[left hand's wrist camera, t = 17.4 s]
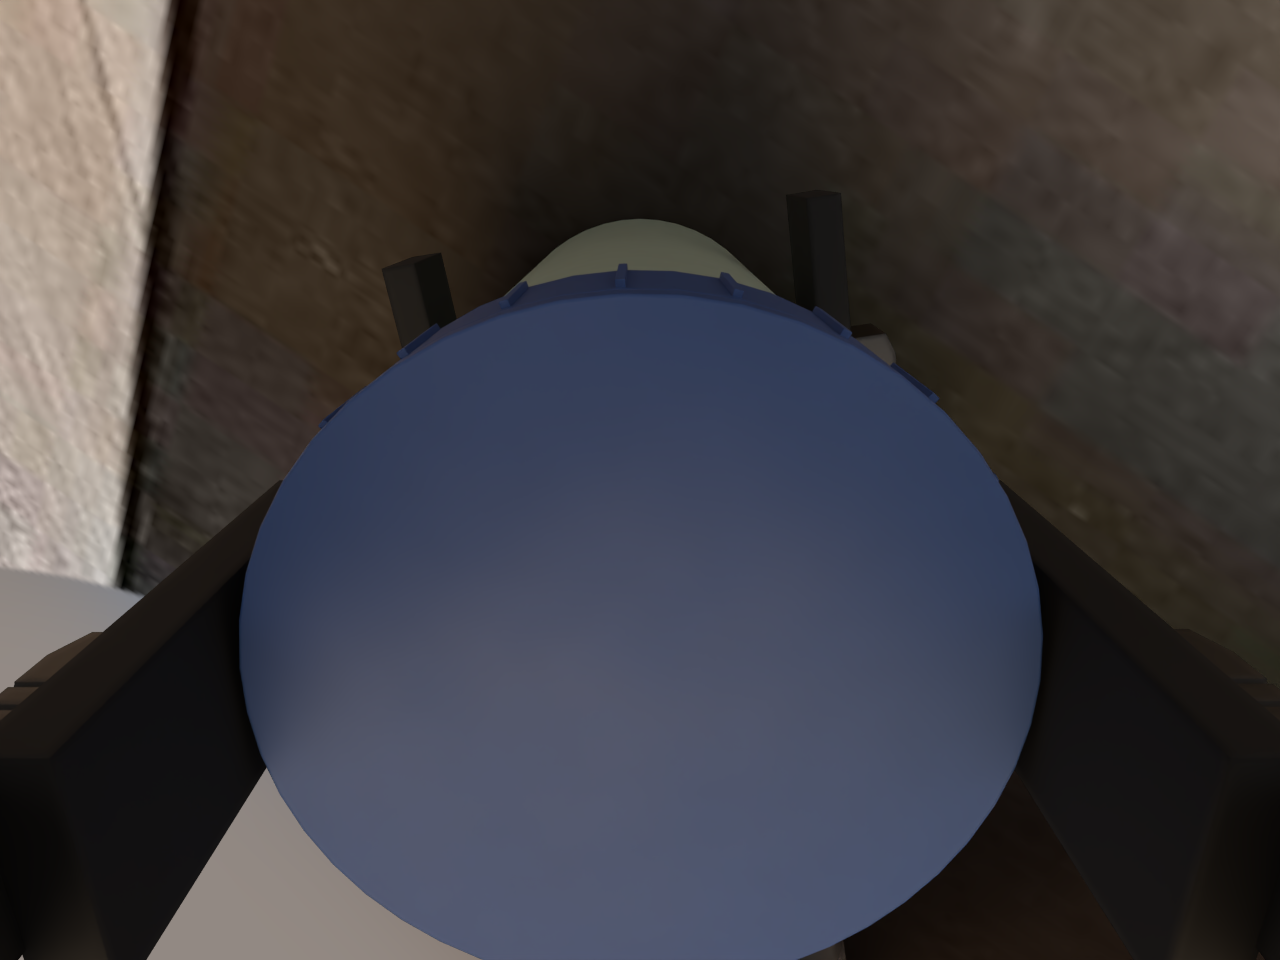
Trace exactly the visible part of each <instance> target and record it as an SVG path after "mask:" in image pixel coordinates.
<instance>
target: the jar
mask: <svg viewBox="0 0 1280 960" xmlns="http://www.w3.org/2000/svg"><path fill="white" fill-rule="evenodd" d="M624 263H627V267H628V270H653V271H677V272H684V273H690V274H697V275H703V276H709V277H716V278H720V274H721V272H725V273H729V274H730V275H731V276H732V278H733V279H734V280H735V281H736V282H737V283H739V284H743V285H746V286H749V287H753V288H756V289H760V290H763V291H766V292H770V293H772V294H774V293H773V292H772V291H771V290H770V289H769V288H768V287H766V286H765V285H764V284H763V283H762V282H761V281H760V280H759V279H758V278H757V277H756V276H754V275H753V274H752V273H751V272H750V271H749V270H748V269H747V268H746V267H745V266H744V265H742V264H741V263H740V262H739V261H738V260H737V259H736V258H735V257H734V256H733V255H732V254H731V253H729V252H728V251H727V250H726V249H725V248H723V247H722V246H721V245H719V244H718V243H716V242H715V241H713V240H712V239H711V238H709V237H707V236H705V235H703V234H701V233H699V232H697V231H695V230H693V229H690V228H687V227H684V226H681V225H679V224H675V223H670V222H665V221H661V220H649V219H631V220H620V221H615V222H610V223H606V224H602V225H599V226H596V227H594V228H591V229H588V230H585V231H583V232H582V233H580V234H578V235H576V236H574V237H572V238H570V239H568V240H567V241H566V242H564V243H563V244H561V245H560V246H559V247H557V248H556V249H554V250H553V251H552V252H551V253H550V254H549V255H548V256H547V257H546V258H545V259H544V260H542V261H541V262H540V263H539V264H538V265H537V266H536V267H535V268H534V269H533V270H532V271H531V272H530V273H528V274H527V275H526V276H525V277H524V278H523V279H522V280H521V281H520V282H519V283H521V282H524V281H527V284H528V287H530V286H534V285H538V284H542V283H546V282H550V281H554V280H558V279H562V278H566V277H570V276H574V275H583V274H591V273H600V272H609V271H617V269H618V265H619V264H624ZM515 286H516V285H515ZM515 286H514V287H515ZM514 287H513V288H514ZM513 288H512V289H513ZM512 289H511V290H512ZM511 290H510V291H511ZM510 291H509V292H510ZM509 292H508V293H509ZM508 293H507V294H508ZM507 294H506V295H507ZM506 295H505V296H506ZM774 295H775V294H774Z"/></svg>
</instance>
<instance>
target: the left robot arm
mask: <svg viewBox="0 0 1280 960" xmlns="http://www.w3.org/2000/svg"><path fill="white" fill-rule="evenodd" d="M282 481H283V480H279V481H278V482H277V483H276V484H275V485H274V486H272V487H271V488H270V489H269V490H268V491H267V492H265V493H264V494H263V495H262V496H261V497H260V498H258V499H257V500H256V501H255V502H254V503H253V504H251V505H250V506H249V507H248V508H247V509H246V510H244V511H243V512H242V513H241V514H240V515H239V516H237V517H236V518H235V519H234V520H233V521H232V522H230V523H229V524H228V525H227V526H226V527H225V528H224V529H222V530H221V531H220V532H219V533H218V534H217V535H215V536H214V537H213V538H212V539H211V540H210V541H208V542H207V543H206V544H205V545H204V546H203V547H201V548H200V549H199V550H198V551H197V552H196V553H194V554H193V555H192V556H191V557H190V558H189V559H187V560H186V561H185V562H184V563H183V564H182V565H180V566H179V567H178V568H177V569H176V570H175V571H173V572H172V573H171V574H170V575H169V576H168V577H167V578H165V579H164V580H163V581H162V582H161V583H160V584H158V585H157V586H156V587H155V588H154V589H153V590H151V591H150V592H149V593H148V594H147V595H146V596H144V597H143V598H142V599H141V600H140V601H139V602H137V603H136V604H135V605H134V606H133V607H132V608H131V609H129V610H128V611H127V612H126V613H125V614H124V615H122V616H121V617H120V618H119V619H118V620H116V621H115V622H114V623H113V624H112V625H111V626H110V627H108V628H107V629H106V630H105V631H104V632H92V633H90V634H88V635H86V636H84V637H82V638H80V639H78V640H76V641H74V642H72V643H70V644H68V645H66V646H64V647H62V648H60V649H58V650H56V651H54V652H52V653H50V654H48V655H47V656H45V657H44V658H43V659H42V660H41V661H39V662H38V663H37V664H36V665H34V666H33V667H32V668H31V669H30V670H28V671H27V672H26V673H25V674H24V675H22V676H21V677H20V678H19V679H17V680H16V681H15V685H14V687H8V688H6V689H5V690H4V691H3V692H1V693H0V960H18V959H19V958H20V957H21V955H23V958H24V960H146V959H147V958H148V956H149V955H150V953H151V951H152V950H153V948H154V947H155V945H156V943H157V942H158V940H159V939H160V937H161V935H162V934H163V932H164V931H165V929H166V927H167V926H168V924H169V923H170V921H171V919H172V918H173V916H174V915H175V913H176V911H177V910H178V908H179V907H180V905H181V903H182V902H183V900H184V899H185V897H186V895H187V894H188V892H189V891H190V889H191V887H192V886H193V884H194V883H195V881H196V879H197V878H198V876H199V875H200V873H201V871H202V870H203V868H204V867H205V865H206V863H207V862H208V860H209V859H210V857H211V855H212V854H213V852H214V851H215V849H216V847H217V846H218V844H219V843H220V841H221V839H222V838H223V836H224V835H225V833H226V831H227V830H228V828H229V827H230V825H231V823H232V822H233V820H234V819H235V817H236V816H237V814H238V812H239V811H240V809H241V807H242V806H243V804H244V803H245V801H246V799H247V798H248V796H249V795H250V793H251V792H252V790H253V788H254V787H255V785H256V784H257V782H258V780H259V779H260V777H261V776H262V774H263V772H264V771H265V769H266V768H267V767H266V765H265V763H264V761H263V759H262V756H261V754H260V751H259V748H258V745H257V742H256V739H255V736H254V733H253V729H252V726H251V723H250V720H249V717H248V714H247V710H246V704H245V698H244V692H243V686H242V680H241V673H240V666H239V617H240V610H241V603H242V596H243V589H244V582H245V575H246V571H247V568H248V564H249V561H250V558H251V555H252V551H253V548H254V545H255V542H256V538H257V535H258V532H259V529H260V526H261V524H262V522H263V520H264V518H265V516H266V514H267V512H268V510H269V508H270V506H271V504H272V502H273V500H274V497H275V495H276V493H277V491H278V489H279V487H280V485H281V483H282ZM999 484H1000V485H1001V487H1002V488H1003V490H1004V491H1005V493H1006V495H1007V496H1008V499H1009V501H1010V503H1011V506H1012V508H1013V510H1014V513H1015V515H1016V517H1017V520H1018V522H1019V524H1020V527H1021V529H1022V531H1023V534H1024V536H1025V538H1026V541H1027V544H1028V548H1029V552H1030V556H1031V560H1032V564H1033V567H1034V571H1035V575H1036V579H1037V583H1038V587H1039V596H1040V607H1041V617H1042V628H1043V647H1042V663H1041V680H1040V686H1039V690H1038V695H1037V700H1036V704H1035V709H1034V714H1033V718H1032V723H1031V727H1030V729H1029V732H1028V735H1027V737H1026V740H1025V743H1024V746H1023V748H1022V751H1021V754H1020V756H1019V759H1018V762H1017V764H1016V767H1015V771H1016V772H1017V774H1018V776H1019V777H1020V779H1021V780H1022V782H1023V784H1024V785H1025V787H1026V788H1027V790H1028V792H1029V793H1030V795H1031V796H1032V798H1033V800H1034V801H1035V803H1036V804H1037V806H1038V808H1039V809H1040V811H1041V812H1042V814H1043V816H1044V817H1045V819H1046V820H1047V822H1048V824H1049V825H1050V827H1051V828H1052V830H1053V832H1054V833H1055V835H1056V836H1057V838H1058V840H1059V841H1060V843H1061V844H1062V846H1063V848H1064V849H1065V851H1066V852H1067V854H1068V856H1069V857H1070V859H1071V860H1072V862H1073V864H1074V865H1075V867H1076V868H1077V870H1078V871H1079V873H1080V875H1081V876H1082V878H1083V879H1084V881H1085V883H1086V884H1087V886H1088V887H1089V889H1090V891H1091V892H1092V894H1093V895H1094V897H1095V899H1096V900H1097V902H1098V903H1099V905H1100V907H1101V908H1102V910H1103V911H1104V913H1105V915H1106V916H1107V918H1108V919H1109V921H1110V923H1111V924H1112V926H1113V927H1114V929H1115V931H1116V932H1117V934H1118V935H1119V937H1120V939H1121V940H1122V942H1123V943H1124V945H1125V947H1126V948H1127V950H1128V951H1129V953H1130V955H1131V956H1132V958H1133V959H1134V960H1256V958H1257V955H1258V952H1260V953H1261V955H1262V956H1263V957H1264V958H1265V960H1280V689H1279V688H1277V687H1276V686H1275V685H1274V684H1267V682H1266V678H1265V677H1264V676H1263V675H1261V674H1260V673H1259V672H1258V671H1256V670H1255V669H1254V668H1253V667H1252V666H1250V665H1249V664H1248V663H1247V662H1245V661H1244V660H1243V659H1242V658H1240V657H1239V656H1238V655H1237V654H1235V653H1234V652H1233V651H1231V650H1229V649H1227V648H1225V647H1223V646H1221V645H1219V644H1217V643H1215V642H1213V641H1211V640H1209V639H1207V638H1205V637H1203V636H1201V635H1199V634H1197V633H1195V632H1193V631H1191V630H1189V629H1173V628H1172V627H1170V626H1169V625H1168V624H1167V623H1166V622H1165V621H1163V620H1162V619H1161V618H1160V617H1159V616H1158V615H1157V614H1155V613H1154V612H1153V611H1152V610H1151V609H1150V608H1148V607H1147V606H1146V605H1145V604H1144V603H1143V602H1141V601H1140V600H1139V599H1138V598H1137V597H1136V596H1134V595H1133V594H1132V593H1131V592H1130V591H1129V590H1127V589H1126V588H1125V587H1124V586H1123V585H1122V584H1120V583H1119V582H1118V581H1117V580H1116V579H1115V578H1113V577H1112V576H1111V575H1110V574H1109V573H1108V572H1106V571H1105V570H1104V569H1103V568H1102V567H1101V566H1100V565H1098V564H1097V563H1096V562H1095V561H1094V560H1093V559H1091V558H1090V557H1089V556H1088V555H1087V554H1086V553H1084V552H1083V551H1082V550H1081V549H1080V548H1079V547H1077V546H1076V545H1075V544H1074V543H1073V542H1072V541H1070V540H1069V539H1068V538H1067V537H1066V536H1065V535H1063V534H1062V533H1061V532H1060V531H1059V530H1058V529H1056V528H1055V527H1054V526H1053V525H1052V524H1051V523H1049V522H1048V521H1047V520H1046V519H1045V518H1044V517H1043V516H1041V515H1040V514H1039V513H1038V512H1037V511H1036V510H1034V509H1033V508H1032V507H1031V506H1030V505H1029V504H1027V503H1026V502H1025V501H1024V500H1023V499H1022V498H1020V497H1019V496H1018V495H1017V494H1016V493H1015V492H1013V491H1012V490H1011V489H1010V488H1009V487H1008V486H1006V485H1005V484H1004V483H1003V482H1002V481H1001V480H999Z"/></svg>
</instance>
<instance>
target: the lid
mask: <svg viewBox="0 0 1280 960" xmlns="http://www.w3.org/2000/svg"><path fill="white" fill-rule="evenodd" d="M851 334H852V332H851V331H850V330H849V329H847V328H846V327H845V326H843V325H842V324H841V323H839V322H838V321H837V320H835V319H834V318H833V317H832V316H830V315H829V314H828V313H826V312H825V311H824V310H822V309H820V308H819V307H817V306H815V308H814V310H813V311H809V310H807V309H805V308H803V307H801V306H799V305H796V304H794V303H792V302H790V301H788V300H785V299H783V298H781V297H779V296H777V295H774V294H772V293H770V292H766V291H763V290H760V289H756V288H753V287H749V286H746V285H743V284H739V283H737V282H736V281H735V280H734V279H733V278H732V276H731V275H730V274H729V273H725V272H721V274H720V278H716V277H709V276H703V275H697V274H690V273H684V272H677V271H653V270H628V267H627V263H624V264H619V265H618V269H617V271H609V272H600V273H591V274H583V275H574V276H570V277H566V278H562V279H558V280H554V281H550V282H546V283H542V284H538V285H534V286H530V287H528V284H527V281H524V282H521V283H518V284H517V285H516V286H515V287H514V288H513V289H512V290H511V291H510V292H509V293H508V294H507V295H506V296H504V297H501V298H499V299H496V300H494V301H491V302H489V303H486V304H484V305H481V306H479V307H477V308H476V309H474V310H472V311H470V312H469V313H467V314H465V315H464V316H462V317H460V318H458V319H457V320H455V321H453V322H451V323H450V324H448V325H446V326H444V327H443V328H441V329H440V327H439V326H438V324H435V325H433V326H432V327H430V328H429V329H428V330H426V331H425V332H424V333H422V334H421V335H420V336H418V337H417V338H416V339H414V340H413V341H412V342H410V343H409V344H408V345H406V346H405V347H404V348H402V349H401V350H400V351H398V352H397V355H398V356H399V357H400V359H401V360H399V361H398V362H397V363H396V364H394V365H393V366H392V367H391V368H389V369H388V370H387V371H385V372H384V373H383V374H382V375H380V376H379V377H378V378H377V379H375V380H374V381H373V382H372V383H370V384H369V385H368V386H365V387H364V388H363V389H361V390H360V391H359V392H358V393H356V394H355V395H354V396H352V397H351V398H350V399H349V400H347V401H346V402H345V403H344V404H342V405H341V406H340V407H339V408H337V409H336V410H335V411H333V412H332V413H331V414H330V415H328V416H327V417H326V418H325V419H323V420H322V422H321V423H320V424H319V425H318V426H319V427H320V428H321V430H320V431H319V432H318V433H317V435H316V436H315V437H314V438H313V439H312V440H311V441H310V443H309V444H308V446H307V447H306V448H305V450H304V451H303V453H302V454H301V456H300V457H299V459H298V460H297V461H296V463H295V464H294V466H293V467H292V469H291V470H290V471H289V473H288V474H287V476H286V477H285V479H284V480H283V481H282V483H281V485H280V487H279V489H278V491H277V493H276V495H275V497H274V500H273V502H272V504H271V506H270V508H269V510H268V512H267V514H266V516H265V518H264V520H263V522H262V524H261V526H260V529H259V532H258V535H257V538H256V542H255V545H254V548H253V551H252V555H251V558H250V561H249V564H248V568H247V571H246V575H245V582H244V589H243V596H242V603H241V610H240V617H239V666H240V673H241V680H242V686H243V692H244V698H245V704H246V710H247V714H248V717H249V720H250V723H251V726H252V729H253V733H254V736H255V739H256V742H257V745H258V748H259V751H260V754H261V756H262V759H263V761H264V763H265V765H266V767H267V769H268V771H269V773H270V775H271V777H272V779H273V781H274V783H275V785H276V787H277V789H278V791H279V793H280V795H281V797H282V798H283V800H284V801H285V803H286V804H287V806H288V807H289V809H290V810H291V812H292V813H293V815H294V816H295V818H296V819H297V821H298V822H299V824H300V825H301V827H302V828H303V830H304V831H305V832H306V834H307V835H308V836H309V837H310V838H311V839H312V841H313V842H314V843H315V844H316V845H317V846H318V847H319V849H320V850H321V851H322V852H323V853H324V854H325V856H326V857H327V858H328V859H329V860H330V861H331V863H332V864H333V865H334V866H335V867H337V868H338V869H339V870H340V871H341V872H342V873H343V874H344V875H345V876H346V877H348V878H349V879H350V880H351V881H352V882H353V883H354V884H355V885H356V886H358V887H359V888H360V889H361V890H362V891H363V892H364V893H365V894H366V895H368V896H369V897H371V898H372V899H373V900H375V901H376V902H378V903H379V904H380V905H382V906H383V907H385V908H386V909H387V910H389V911H390V912H392V913H393V914H394V915H396V916H397V917H399V918H400V919H401V920H403V921H405V922H407V923H408V924H410V925H412V926H414V927H415V928H417V929H419V930H421V931H423V932H424V933H426V934H428V935H430V936H431V937H433V938H435V939H437V940H439V941H440V942H443V943H445V944H447V945H450V946H452V947H454V948H457V949H459V950H461V951H463V952H466V953H468V954H470V955H473V956H475V957H477V958H480V959H482V960H798V959H800V958H803V957H805V956H808V955H811V954H813V953H816V952H818V951H821V950H823V949H826V948H828V947H830V946H832V945H834V944H836V943H838V942H840V941H842V940H844V939H846V938H848V937H850V936H851V935H853V934H855V933H857V932H859V931H861V930H863V929H865V928H867V927H869V926H870V925H872V924H873V923H875V922H876V921H878V920H879V919H881V918H882V917H884V916H885V915H887V914H888V913H890V912H891V911H893V910H894V909H896V908H897V907H899V906H900V905H902V904H903V903H905V902H906V901H907V900H908V899H909V898H911V897H912V896H913V895H914V894H915V893H917V892H918V891H919V890H920V889H921V888H922V887H924V886H925V885H926V884H927V883H928V882H930V881H931V880H932V879H933V878H934V877H935V876H937V875H938V874H939V873H940V872H941V871H942V870H943V869H944V868H945V866H946V865H947V864H948V863H949V862H950V861H951V860H952V859H953V858H954V857H955V856H956V855H957V854H958V853H959V851H960V850H961V849H962V848H963V847H964V846H965V845H966V844H967V843H968V842H969V841H970V839H971V838H972V836H973V835H974V834H975V832H976V831H977V829H978V828H979V827H980V825H981V824H982V823H983V821H984V820H985V818H986V817H987V816H988V814H989V813H990V812H991V810H992V809H993V807H994V806H995V804H996V802H997V800H998V799H999V797H1000V795H1001V793H1002V791H1003V789H1004V787H1005V786H1006V784H1007V782H1008V780H1009V778H1010V776H1011V774H1012V773H1013V771H1014V769H1015V767H1016V764H1017V762H1018V759H1019V756H1020V754H1021V751H1022V748H1023V746H1024V743H1025V740H1026V737H1027V735H1028V732H1029V729H1030V727H1031V723H1032V718H1033V714H1034V709H1035V704H1036V700H1037V695H1038V690H1039V686H1040V680H1041V663H1042V647H1043V628H1042V617H1041V607H1040V596H1039V587H1038V583H1037V579H1036V575H1035V571H1034V567H1033V564H1032V560H1031V556H1030V552H1029V548H1028V544H1027V541H1026V538H1025V536H1024V534H1023V531H1022V529H1021V527H1020V524H1019V522H1018V520H1017V517H1016V515H1015V513H1014V510H1013V508H1012V506H1011V503H1010V501H1009V499H1008V496H1007V495H1006V493H1005V491H1004V490H1003V488H1002V487H1001V485H1000V484H999V480H998V478H997V476H996V475H995V474H994V473H993V472H992V471H991V469H990V468H989V466H988V464H987V463H986V461H985V460H984V458H983V456H982V455H981V453H980V452H979V451H978V450H977V448H976V447H975V446H974V445H973V444H972V443H971V441H970V440H969V439H968V438H967V437H966V436H965V435H964V433H963V432H962V431H961V430H960V429H959V428H958V426H957V425H956V424H955V423H954V422H953V421H952V420H951V418H950V417H949V416H948V415H947V414H946V413H945V412H944V411H943V410H942V409H941V408H940V407H939V406H937V405H936V404H935V403H936V402H937V401H938V400H939V398H938V397H937V396H936V395H935V394H934V393H933V392H932V391H931V390H929V389H928V388H927V387H925V386H924V385H923V384H921V383H920V382H919V381H918V380H916V379H915V378H914V377H912V376H911V375H910V374H908V373H907V372H906V371H904V370H903V369H902V368H900V367H899V366H898V365H896V364H895V363H892V364H891V365H888V364H887V363H886V362H885V361H883V360H882V359H881V358H879V357H878V356H877V355H876V354H874V353H873V352H872V351H870V350H869V349H868V348H867V347H865V346H864V345H863V344H862V343H860V342H859V341H858V340H856V339H855V338H854V337H852V336H851Z"/></svg>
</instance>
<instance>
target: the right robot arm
mask: <svg viewBox="0 0 1280 960" xmlns="http://www.w3.org/2000/svg"><path fill="white" fill-rule="evenodd" d="M786 199H787V209H788V220H789V231H790V241H791V252H792V263H793V273H794V284H795V295H796V305H799V306H801V307H803V308H805V309H807V310H809V311H813V310H814V308H815V306H817V307H819V308H820V309H822V310H824V311H825V312H826V313H828V314H829V315H830V316H832V317H833V318H834V319H835V320H837V321H838V322H839V323H841V324H842V325H843V326H845V327H846V328H847V329H849V330H850V331H851V332H852V334H851V336H852V337H854V338H855V339H856V340H858V341H859V342H860V343H862V344H863V345H864V346H865V347H867V348H868V349H869V350H870V351H872V352H873V353H874V354H876V355H877V356H878V357H879V358H881V359H882V360H883V361H885V362H886V363H887V364H888V365H891V364H892V363H895V364H896V356H895V351H894V349H893V347H892V345H891V343H890V341H889V339H888V337H887V335H886V333H884V332H883V331H881V330H880V329H878V328H877V327H875V326H874V325H872V324H865V325H858V326H852V327H850V315H849V301H848V287H847V273H846V259H845V246H844V232H843V218H842V204H841V193H837V192H829V191H820V190H814V191H808V192H802V193H796V194H790V195H786ZM382 272H383V276H384V280H385V284H386V288H387V292H388V295H389V299H390V303H391V307H392V311H393V315H394V319H395V322H396V326H397V330H398V334H399V338H400V342H401V346H402V348H404V347H405V346H406V345H408V344H409V343H410V342H412V341H413V340H414V339H416V338H417V337H418V336H420V335H421V334H422V333H424V332H425V331H426V330H428V329H429V328H430V327H432V326H433V325H435V324H438V326H439V327H440V329H441V328H443V327H444V326H446V325H448V324H450V323H451V322H453V321H455V320H457V319H456V315H455V311H454V306H453V302H452V298H451V294H450V289H449V285H448V281H447V276H446V272H445V268H444V264H443V259H442V255H441V253H435V254H429V255H423V256H417V257H412V258H409V259H406V260H404V261H401V262H399V263H396V264H393V265H391V266H388V267H385V268H383V269H382ZM798 960H846V956H845V949H844V942H843V940H842V941H840V942H838V943H836V944H834V945H832V946H830V947H828V948H826V949H823V950H821V951H818V952H816V953H813V954H811V955H808V956H805V957H803V958H800V959H798Z"/></svg>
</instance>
